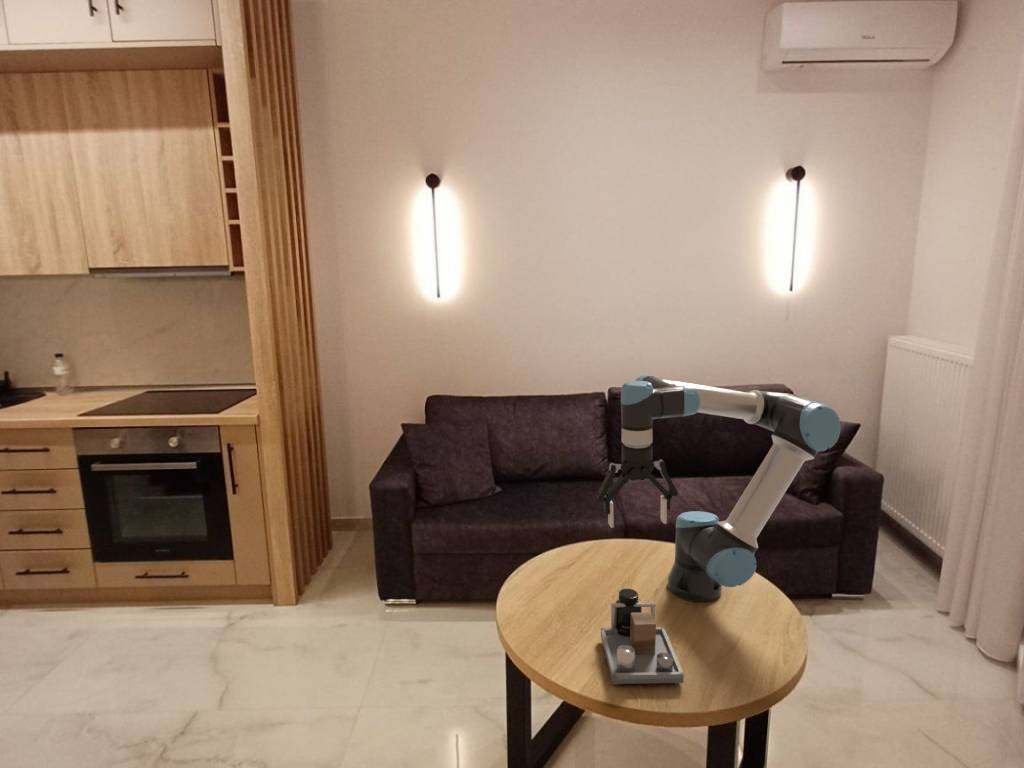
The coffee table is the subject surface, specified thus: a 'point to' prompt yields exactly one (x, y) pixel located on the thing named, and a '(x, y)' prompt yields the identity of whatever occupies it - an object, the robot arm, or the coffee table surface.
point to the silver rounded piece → (625, 659)
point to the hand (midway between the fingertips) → (637, 523)
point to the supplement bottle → (626, 611)
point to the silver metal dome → (664, 662)
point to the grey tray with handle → (643, 663)
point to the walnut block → (643, 633)
